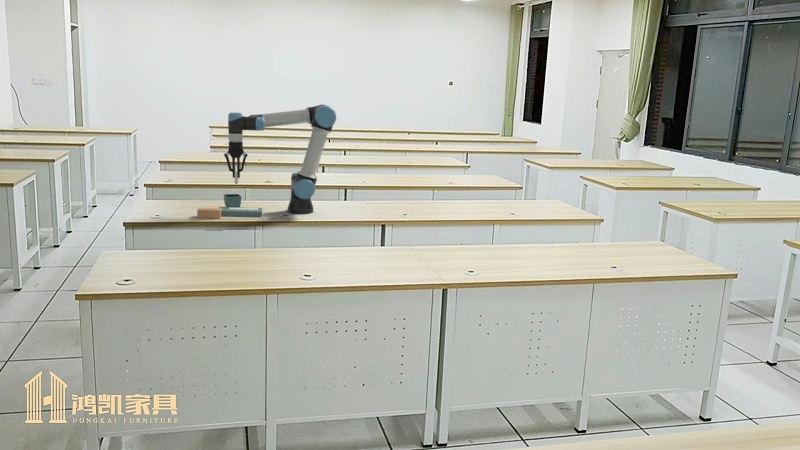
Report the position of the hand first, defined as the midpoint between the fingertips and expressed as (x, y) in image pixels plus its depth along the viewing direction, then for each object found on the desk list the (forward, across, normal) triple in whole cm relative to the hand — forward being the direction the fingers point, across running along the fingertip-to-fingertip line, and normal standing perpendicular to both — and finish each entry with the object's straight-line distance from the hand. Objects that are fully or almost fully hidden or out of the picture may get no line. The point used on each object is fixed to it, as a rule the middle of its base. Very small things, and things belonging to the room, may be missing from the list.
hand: (236, 183), depth 374 cm
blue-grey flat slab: (+18, -1, -4) cm, 19 cm away
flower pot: (+18, +4, -15) cm, 24 cm away
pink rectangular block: (+18, +14, +5) cm, 24 cm away
